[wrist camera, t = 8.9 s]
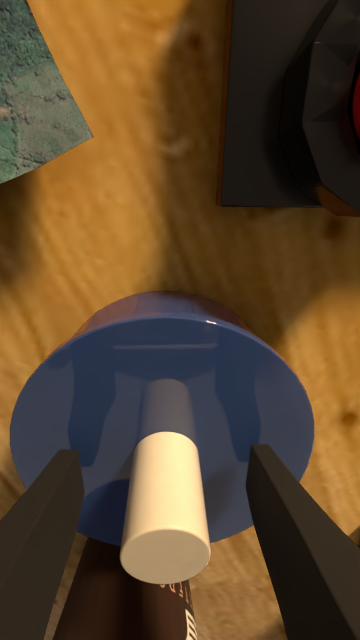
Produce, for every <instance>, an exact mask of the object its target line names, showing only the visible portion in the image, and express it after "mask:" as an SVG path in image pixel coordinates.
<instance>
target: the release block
mask: <svg viewBox="0 0 360 640" xmlns="http://www.w3.org/2000/svg"><path fill="white" fill-rule="evenodd" d="M359 72H360V0H227V2H226V21H225V40H224V59H223V79H222V98H221V117H220V136H219V155H218V174H217V194H216V206H221V207H308V208H326V209H327V210H328V211H330V212H331V213H333V214H335V215H339V216H352V217H360V140H359V138H358V136H357V133H356V130H355V126H354V122H353V111H352V109H353V96H354V89H355V85H356V81H357V78H358V75H359Z"/></svg>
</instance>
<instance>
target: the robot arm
mask: <svg viewBox="0 0 360 640" xmlns="http://www.w3.org/2000/svg"><path fill="white" fill-rule="evenodd" d="M245 487H246V492H247V497H248V502H249V507H250V512H251V516H252V520H253V524H254V527H255V530H256V534H257V537H258V540H259V543H260V546H261V550H262V553H263V556H264V559H265V562H266V566H267V569H268V572H269V575H270V578H271V582H272V585H273V588H274V591H275V594H276V598H277V601H278V604H279V608H280V612H281V615H282V619H283V623H284V627H285V631H286V636H287V640H360V549H359V548H358V547H357V546H356V544H355V543H354V542H353V541H352V540H351V539H350V538H349V537H348V536H347V535H346V534H345V533H344V532H343V531H342V530H341V529H340V528H339V527H338V526H337V525H336V524H335V523H334V522H333V521H332V519H331V518H330V517H329V516H328V515H327V514H326V513H325V512H324V511H323V510H322V508H321V507H320V506H319V505H318V504H317V503H316V502H315V500H314V499H313V498H312V497H311V496H310V495H309V494H308V492H307V491H306V490H305V489H304V488H303V487H302V485H301V484H300V483H299V482H298V481H297V479H296V478H295V477H294V476H293V474H292V473H291V472H290V471H289V469H288V468H287V467H286V466H285V464H284V463H283V462H282V461H281V459H280V458H279V457H278V455H277V454H276V453H275V452H274V450H273V449H272V448H271V447H270V446H269V445H268V444H253V445H251V447H250V455H249V463H248V470H247V478H246V485H245ZM84 493H85V489H84V483H83V477H82V471H81V464H80V458H79V452H78V449H61V450H59V451H58V452H57V453H56V454H55V456H54V457H53V458H52V459H51V461H50V462H49V463H48V464H47V466H46V467H45V468H44V469H43V471H42V472H41V473H40V474H39V476H38V477H37V478H36V479H35V481H34V482H33V483H32V484H31V486H30V487H29V488H28V489H27V490H26V492H25V493H24V494H23V495H22V496H21V497H20V499H19V500H18V501H17V502H16V503H15V504H14V506H13V507H12V508H11V509H10V510H9V512H8V513H7V514H6V515H5V516H4V517H3V518H2V519H1V520H0V640H44V635H45V631H46V628H47V624H48V621H49V617H50V614H51V610H52V607H53V604H54V601H55V597H56V594H57V591H58V588H59V585H60V581H61V578H62V575H63V572H64V569H65V566H66V562H67V559H68V556H69V553H70V550H71V546H72V543H73V540H74V537H75V533H76V530H77V527H78V523H79V518H80V513H81V509H82V503H83V498H84Z"/></svg>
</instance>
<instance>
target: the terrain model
mask: <svg viewBox="0 0 360 640" xmlns="http://www.w3.org/2000/svg"><path fill="white" fill-rule="evenodd" d="M90 138H93V135H92V133H91V131H90V129H89V127H88V125H87V123H86V121H85V119H84V117H83V115H82V113H81V111H80V109H79V108H78V106H77V104H76V102H75V101H74V99H73V97H72V95H71V93H70V91H69V89H68V87H67V86H66V84H65V82H64V80H63V78H62V76H61V74H60V72H59V70H58V68H57V66H56V64H55V61H54V59H53V57H52V55H51V53H50V51H49V49H48V47H47V45H46V43H45V40H44V38H43V36H42V34H41V32H40V30H39V28H38V26H37V23H36V21H35V19H34V17H33V14H32V12H31V10H30V7H29V5H28V3H27V0H0V184H1V183H3V182H6V181H8V180H11V179H13V178H16V177H18V176H20V175H23V174H25V173H27V172H29V171H32V170H34V169H36V168H39V167H40V166H42V165H44V164H45V163H47V162H49V161H51V160H53V159H55V158H56V157H58V156H60V155H61V154H63V153H65V152H66V151H68V150H70V149H72V148H73V147H75V146H77V145H79V144H81V143H83V142H85V141H86V140H88V139H90Z"/></svg>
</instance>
